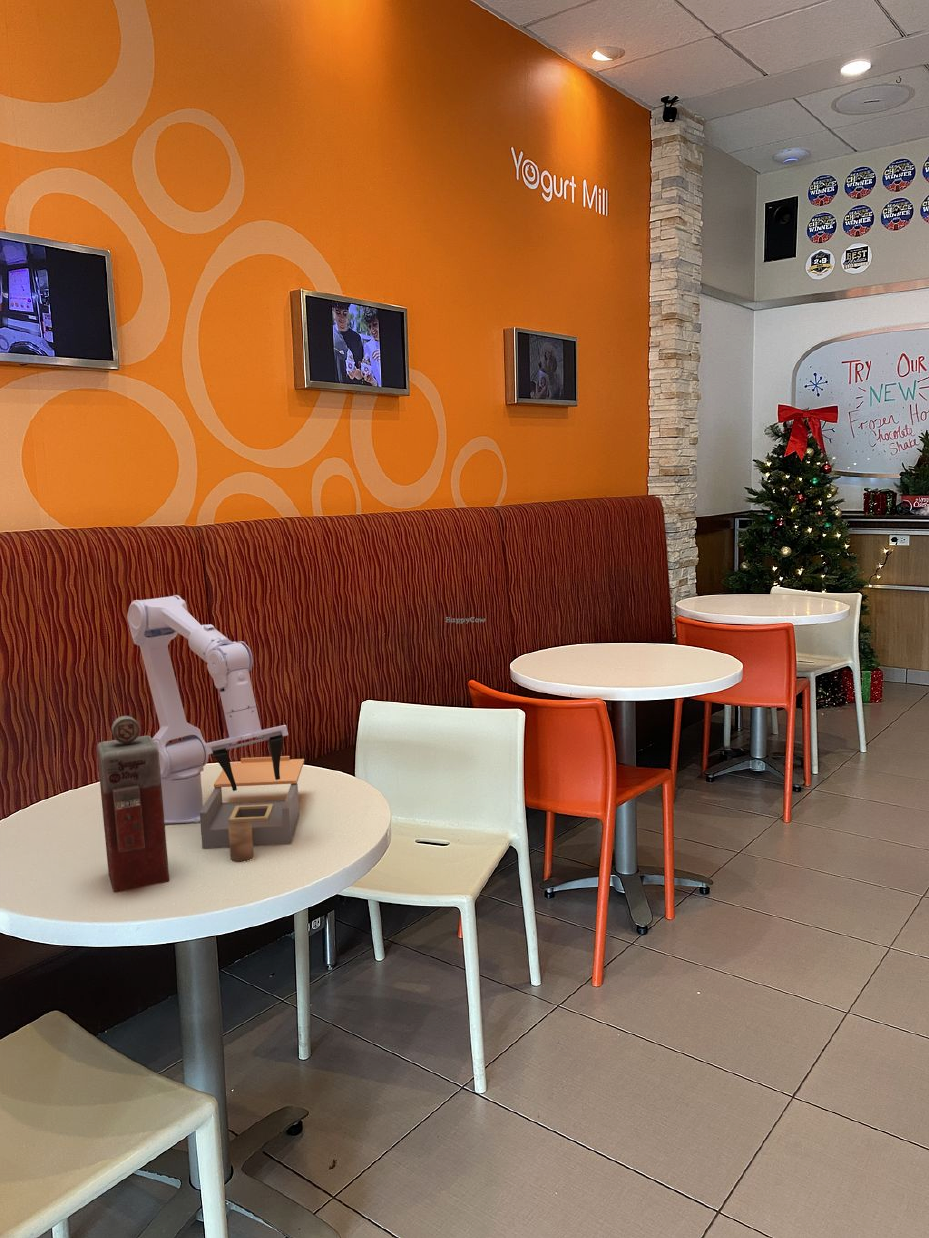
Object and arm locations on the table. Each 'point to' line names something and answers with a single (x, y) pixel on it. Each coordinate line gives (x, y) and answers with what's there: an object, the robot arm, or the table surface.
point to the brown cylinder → (241, 841)
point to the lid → (261, 772)
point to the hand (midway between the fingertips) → (256, 784)
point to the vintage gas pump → (132, 808)
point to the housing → (250, 819)
